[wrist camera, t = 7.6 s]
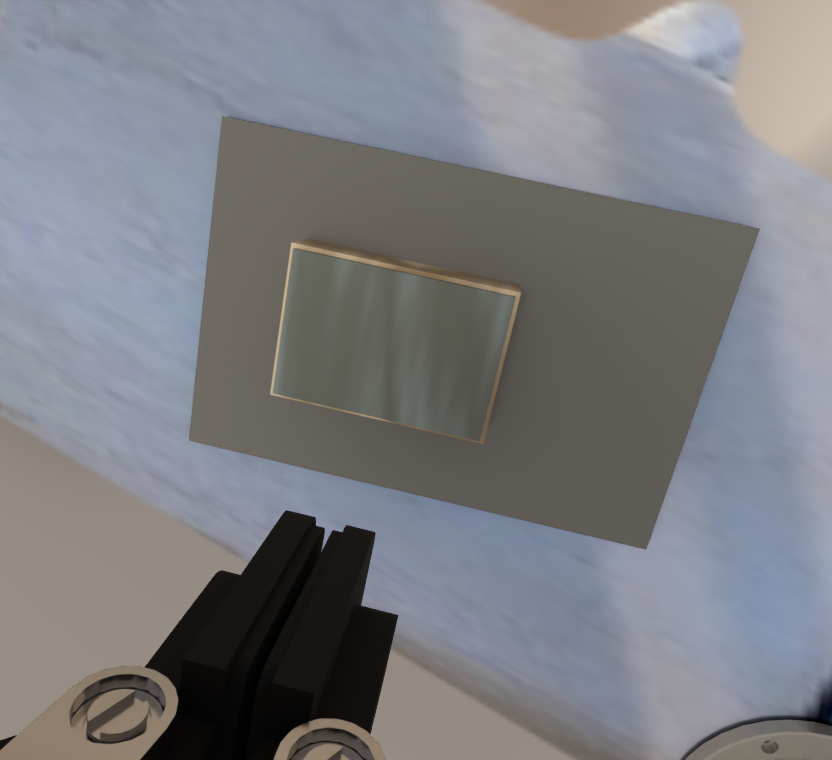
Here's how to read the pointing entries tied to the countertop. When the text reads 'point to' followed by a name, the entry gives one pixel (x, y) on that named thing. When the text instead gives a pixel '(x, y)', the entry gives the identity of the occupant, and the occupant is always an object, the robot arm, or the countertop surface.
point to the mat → (529, 342)
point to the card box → (392, 339)
